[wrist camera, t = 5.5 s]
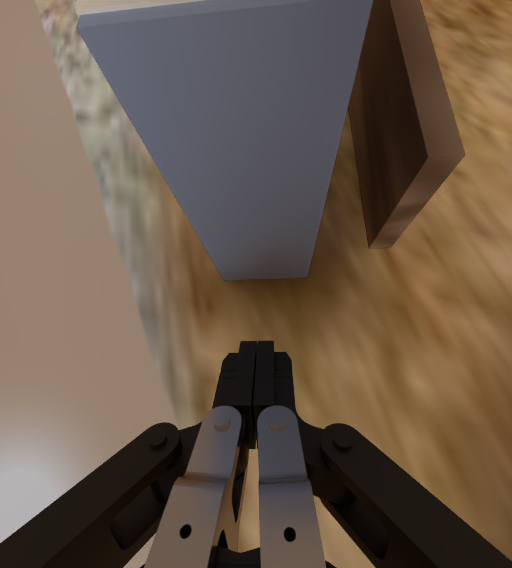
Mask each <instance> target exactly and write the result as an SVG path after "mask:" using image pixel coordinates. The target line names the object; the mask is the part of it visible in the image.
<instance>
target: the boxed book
mask: <svg viewBox="0 0 512 568" xmlns="http://www.w3.org/2000/svg"><path fill="white" fill-rule="evenodd" d="M372 3H373V0H77V3H76V6H75V9H74V10H75V11H76V13H77V15H78V17H79V20H78V24H77V27H76V28H77V30H78V31H79V33H80V35H81V36H82V38H83V40H84V42H85V43H86V45H87V47H88V48H89V50H90V52H91V54H92V55H93V57H94V59H95V60H96V62H97V64H98V66H99V67H100V69H101V71H102V73H103V74H104V76H105V78H106V79H107V81H108V83H109V85H110V86H111V88H112V90H113V91H114V93H115V95H116V97H117V98H118V100H119V102H120V103H121V105H122V107H123V109H124V110H125V112H126V114H127V115H128V117H129V119H130V121H131V122H132V124H133V126H134V127H135V129H136V131H137V133H138V134H139V136H140V138H141V139H142V141H143V143H144V145H145V146H146V148H147V150H148V151H149V153H150V155H151V157H152V158H153V160H154V162H155V164H156V165H157V167H158V169H159V170H160V172H161V174H162V176H163V177H164V179H165V181H166V182H167V184H168V186H169V188H170V189H171V191H172V193H173V194H174V196H175V198H176V200H177V201H178V203H179V205H180V206H181V208H182V210H183V212H184V213H185V215H186V217H187V218H188V220H189V222H190V224H191V225H192V227H193V229H194V230H195V232H196V234H197V236H198V237H199V239H200V241H201V242H202V244H203V246H204V248H205V249H206V251H207V253H208V254H209V256H210V258H211V260H212V261H213V263H214V265H215V267H216V268H217V270H218V272H219V273H220V275H221V277H222V279H223V280H224V281H230V280H256V279H282V278H307V277H308V273H309V269H310V264H311V260H312V256H313V252H314V248H315V243H316V239H317V235H318V231H319V227H320V222H321V218H322V214H323V210H324V206H325V201H326V197H327V193H328V189H329V184H330V180H331V176H332V172H333V168H334V163H335V159H336V155H337V151H338V147H339V142H340V138H341V134H342V130H343V125H344V121H345V117H346V113H347V109H348V104H349V100H350V96H351V92H352V88H353V83H354V79H355V75H356V71H357V67H358V62H359V58H360V54H361V50H362V45H363V41H364V37H365V33H366V29H367V24H368V20H369V16H370V12H371V8H372Z"/></svg>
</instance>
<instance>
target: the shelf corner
mask: <svg viewBox="0 0 512 568" xmlns="http://www.w3.org/2000/svg"><path fill="white" fill-rule="evenodd" d="M348 109H349V116H350V123H351V130H352V136H353V143H354V150H355V157H356V164H357V170H358V177H359V184H360V191H361V198H362V204H363V211H364V218H365V225H366V231H367V238H368V245H369V249H370V248H391V246H392V245H393V244H394V243H395V242H396V240H397V239H398V238H399V237H400V235H401V234H402V233H403V232H404V230H405V229H406V228H407V227H408V225H409V224H410V223H411V222H412V220H413V219H414V218H415V217H416V215H417V214H418V213H419V212H420V210H421V209H422V208H423V207H424V206H425V204H426V203H427V202H428V201H429V199H430V198H431V197H432V196H433V194H434V193H435V192H436V191H437V189H438V188H439V187H440V186H441V184H442V183H443V182H444V181H445V179H446V178H447V177H448V176H449V175H450V173H451V172H452V171H453V170H454V168H455V167H456V166H457V165H458V163H459V162H460V161H461V160H462V158H463V157H464V156H465V152H464V148H463V145H462V141H461V138H460V135H459V131H458V128H457V125H456V121H455V118H454V115H453V111H452V108H451V104H450V101H449V98H448V94H447V91H446V88H445V84H444V81H443V77H442V74H441V71H440V67H439V64H438V61H437V57H436V54H435V50H434V47H433V44H432V40H431V37H430V34H429V30H428V27H427V23H426V20H425V17H424V13H423V10H422V7H421V3H420V0H373V3H372V8H371V12H370V16H369V20H368V24H367V29H366V33H365V37H364V41H363V45H362V50H361V54H360V58H359V62H358V67H357V71H356V75H355V79H354V83H353V88H352V92H351V96H350V100H349V104H348Z"/></svg>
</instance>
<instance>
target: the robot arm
mask: <svg viewBox="0 0 512 568" xmlns="http://www.w3.org/2000/svg"><path fill="white" fill-rule="evenodd" d="M256 441H257V449H258V459H259V520H260V548H256V549H253V550H250V551H246V552H242V553H238V543H239V525H240V518H241V511H242V505H243V498H244V491H245V484H246V478H247V470H248V468H247V465H248V457H249V449H256ZM313 495H314V496H317V497H319V498H320V500H321V502H322V503H323V505H324V506H325V507H326V509H327V510H328V511H329V512H330V513H331V515H332V516H333V517H334V518H335V519H336V521H337V522H338V523H339V524H340V525H341V527H342V528H343V529H344V530H345V531H346V533H347V534H348V535H349V536H350V537H351V539H352V540H353V541H354V542H355V543H356V545H357V546H358V547H359V548H360V549H361V551H362V552H363V553H364V554H365V555H366V557H367V558H368V559H369V560H370V561H371V563H372V564H373V565H374V566H375V567H376V568H512V561H510V560H509V559H508V558H507V557H506V556H505V555H503V554H502V553H501V552H500V551H499V550H497V549H496V548H495V547H494V546H493V545H492V544H490V543H489V542H488V541H487V540H486V539H484V538H483V537H482V536H481V535H480V534H479V533H477V532H476V531H475V530H474V529H473V528H472V527H470V526H469V525H468V524H467V523H466V522H464V521H463V520H462V519H461V518H460V517H459V516H457V515H456V514H455V513H454V512H453V511H451V510H450V509H449V508H448V507H447V506H446V505H444V504H443V503H442V502H441V501H440V500H438V499H437V498H436V497H435V496H434V495H433V494H431V493H430V492H429V491H428V490H427V489H425V488H424V487H423V486H422V485H421V484H420V483H418V482H417V481H416V480H415V479H414V478H412V477H411V476H410V475H409V474H408V473H407V472H405V471H404V470H403V469H402V468H401V467H399V466H398V465H397V464H396V463H395V462H394V461H392V460H391V459H390V458H389V457H388V456H386V455H385V454H384V453H383V452H382V451H381V450H379V449H378V448H377V447H376V446H375V445H373V444H372V443H371V442H370V441H369V440H368V439H366V438H365V437H364V436H363V435H362V434H361V433H359V432H358V431H357V430H356V429H354V428H353V427H351V426H349V425H346V424H341V423H336V424H331V425H329V426H327V427H326V428H325V429H321V428H317V427H314V426H311V425H309V424H307V423H306V422H304V421H303V420H302V419H301V418H300V417H299V416H298V414H297V412H296V408H295V398H294V386H293V374H292V362H291V359H290V357H289V356H288V354H287V353H286V352H274V341H258V344H257V341H241V342H240V348H239V353H229V354H228V355H227V356H226V358H225V359H224V360H223V362H222V367H221V372H220V376H219V380H218V385H217V389H216V393H215V398H214V402H213V407H212V410H210V411H209V412H208V413H207V414H206V415H205V417H204V419H203V421H202V422H200V423H199V424H197V425H194V426H192V427H188V428H185V429H182V430H178V429H177V427H176V426H175V425H173V424H171V423H159V424H156V425H153V426H151V427H150V428H148V429H147V430H146V431H144V432H143V433H142V434H140V435H139V436H138V437H137V438H135V439H134V440H133V441H131V442H130V443H129V444H128V445H126V446H125V447H124V448H123V449H121V450H120V451H119V452H117V453H116V454H115V455H113V456H112V457H111V458H110V459H108V460H107V461H106V462H104V463H103V464H102V465H101V466H99V467H98V468H97V469H95V470H94V471H93V472H92V473H90V474H89V475H88V476H86V477H85V478H84V479H83V480H81V481H80V482H79V483H77V484H76V485H75V486H74V487H72V488H71V489H70V490H68V491H67V492H66V493H65V494H63V495H62V496H61V497H59V498H58V499H57V500H56V501H54V502H53V503H52V504H50V505H49V506H48V507H47V508H45V509H44V510H43V511H41V512H40V513H39V514H38V515H36V516H35V517H34V518H32V519H31V520H30V521H29V522H27V523H26V524H25V525H23V526H22V527H21V528H20V529H18V530H17V531H16V532H14V533H13V534H12V535H11V536H9V537H8V538H7V539H5V540H4V541H3V542H2V543H0V568H123V567H124V566H125V565H126V564H127V563H128V562H129V561H130V560H131V558H132V557H133V556H134V555H135V554H136V553H137V552H138V551H139V550H140V549H141V548H142V547H143V546H144V545H145V544H146V543H147V542H148V540H149V539H150V538H151V537H152V536H153V535H154V534H155V533H156V532H157V533H156V535H155V538H154V541H153V544H152V547H151V549H150V553H149V555H148V558H147V561H146V563H145V564H144V565H143V566H141V567H140V568H336V567H335V566H333V565H332V564H331V563H329V562H327V561H325V558H324V553H323V547H322V542H321V536H320V531H319V525H318V520H317V514H316V509H315V503H314V498H313Z"/></svg>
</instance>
